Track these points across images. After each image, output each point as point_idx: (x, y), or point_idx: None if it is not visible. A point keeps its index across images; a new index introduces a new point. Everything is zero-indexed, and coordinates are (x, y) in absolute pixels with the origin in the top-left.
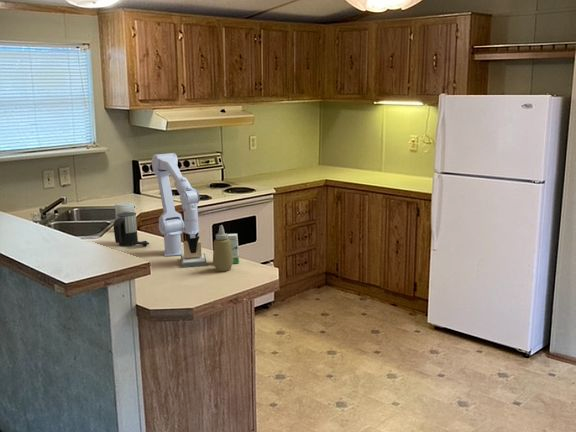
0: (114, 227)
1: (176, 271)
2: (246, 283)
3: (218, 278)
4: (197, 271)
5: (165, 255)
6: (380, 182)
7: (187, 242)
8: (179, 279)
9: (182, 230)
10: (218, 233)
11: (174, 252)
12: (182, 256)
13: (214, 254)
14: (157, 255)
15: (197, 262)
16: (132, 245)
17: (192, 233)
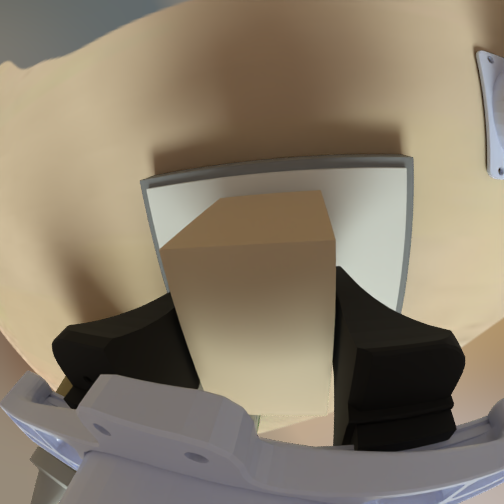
0: None
1: (90, 154)
2: (43, 367)
3: (47, 324)
4: (93, 265)
5: (478, 56)
6: None
7: (231, 303)
8: (15, 195)
9: (131, 435)
10: (41, 476)
11: (500, 120)
12: (338, 170)
13: (63, 383)
14: (496, 24)
15: (165, 282)
16: None
17: (16, 424)
